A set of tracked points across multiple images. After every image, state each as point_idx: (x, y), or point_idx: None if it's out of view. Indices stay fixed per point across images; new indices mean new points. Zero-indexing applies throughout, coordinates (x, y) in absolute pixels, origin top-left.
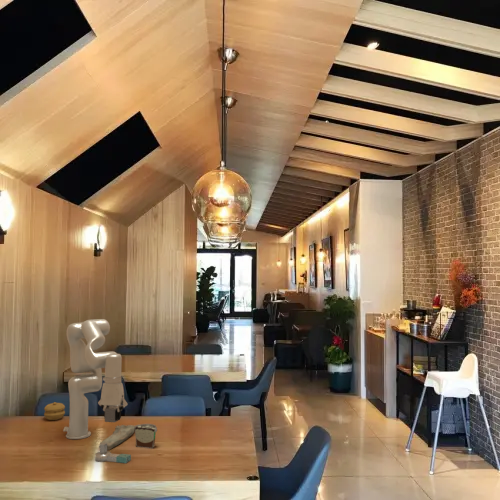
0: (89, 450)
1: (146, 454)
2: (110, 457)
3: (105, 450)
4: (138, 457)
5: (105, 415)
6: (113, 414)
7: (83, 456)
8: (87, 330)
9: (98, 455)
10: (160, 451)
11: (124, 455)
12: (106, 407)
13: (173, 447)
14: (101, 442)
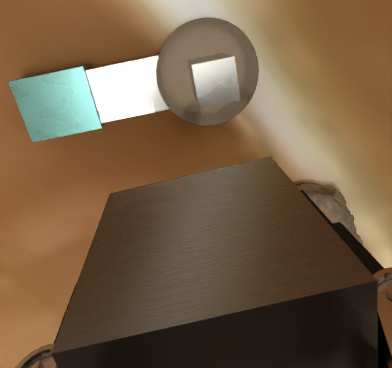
0: (373, 150)
1: (43, 239)
2: (132, 60)
3: (191, 78)
4: (43, 187)
5: (287, 197)
6: (116, 253)
7: (348, 54)
8: None
9: (212, 28)
10: (18, 298)
11: (54, 110)
12: (387, 358)
13: (10, 358)
14: (347, 222)
